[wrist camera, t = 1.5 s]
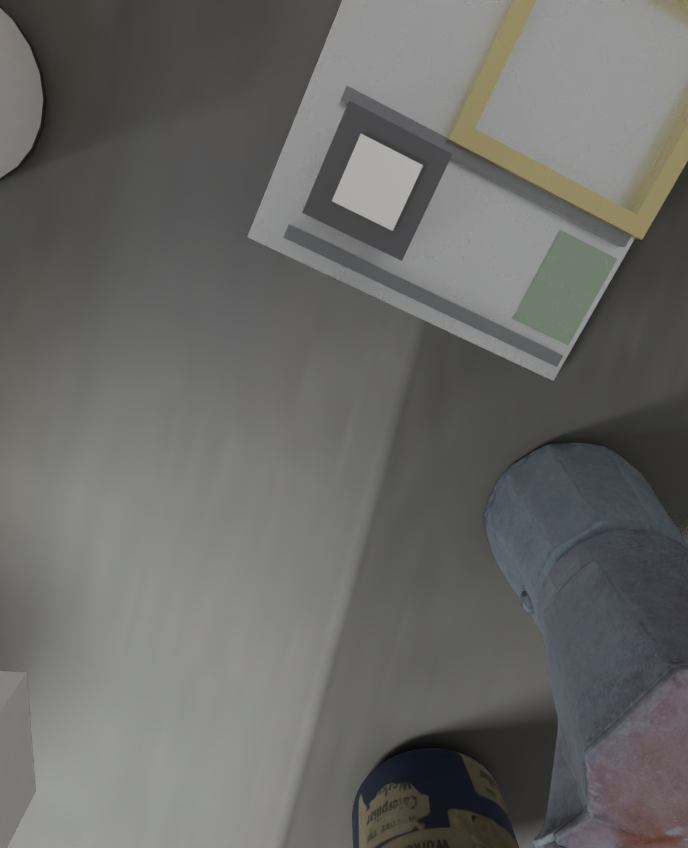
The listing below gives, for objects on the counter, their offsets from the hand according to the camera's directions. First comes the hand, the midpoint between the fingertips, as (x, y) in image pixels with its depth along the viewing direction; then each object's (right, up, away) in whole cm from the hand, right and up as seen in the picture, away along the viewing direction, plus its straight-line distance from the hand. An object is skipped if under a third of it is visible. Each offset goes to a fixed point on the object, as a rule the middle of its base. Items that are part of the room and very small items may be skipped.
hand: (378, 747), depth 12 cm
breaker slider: (0, +16, +16) cm, 23 cm away
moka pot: (+11, +2, +23) cm, 26 cm away
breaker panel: (+6, +19, +17) cm, 26 cm away
